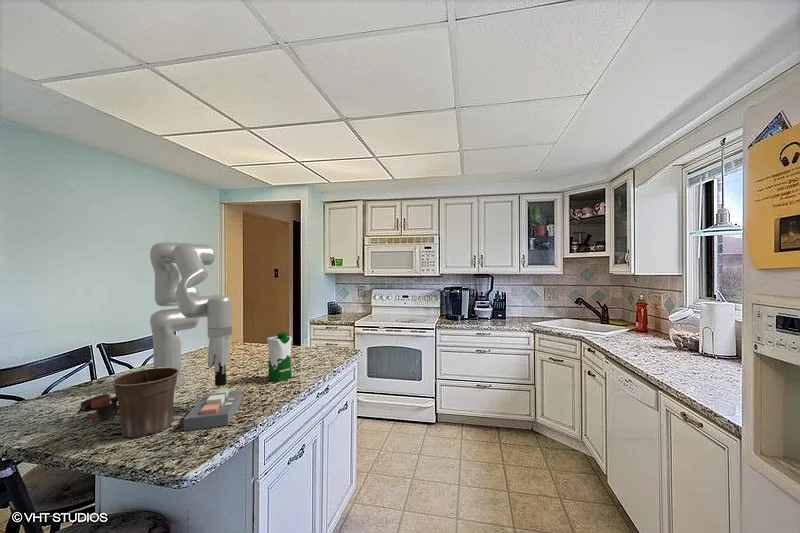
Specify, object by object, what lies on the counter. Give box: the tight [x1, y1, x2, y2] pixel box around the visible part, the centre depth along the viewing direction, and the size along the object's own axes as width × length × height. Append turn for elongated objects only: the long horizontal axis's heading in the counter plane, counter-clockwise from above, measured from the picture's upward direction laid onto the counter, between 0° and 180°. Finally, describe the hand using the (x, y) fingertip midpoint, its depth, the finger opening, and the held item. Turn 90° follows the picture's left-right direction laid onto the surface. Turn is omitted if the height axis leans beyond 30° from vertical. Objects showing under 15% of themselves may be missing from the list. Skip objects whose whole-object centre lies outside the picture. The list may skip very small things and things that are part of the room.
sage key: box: [211, 388, 230, 399], centre depth 118 cm, size 4×4×3 cm
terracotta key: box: [200, 404, 220, 415], centre depth 106 cm, size 4×4×3 cm
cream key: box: [206, 394, 225, 406], centre depth 112 cm, size 4×4×3 cm
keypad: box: [183, 390, 243, 431], centre depth 112 cm, size 21×12×4 cm, turn 14°
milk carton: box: [266, 331, 293, 383], centre depth 148 cm, size 9×9×20 cm
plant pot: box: [111, 367, 179, 439], centre depth 102 cm, size 16×16×16 cm
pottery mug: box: [78, 393, 119, 424], centre depth 112 cm, size 12×10×8 cm
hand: (220, 385), depth 118 cm, fingers closed
